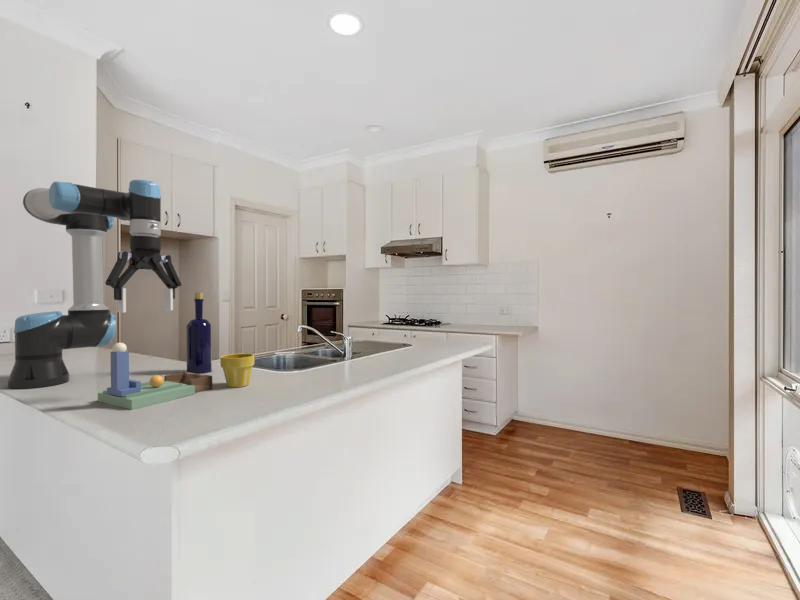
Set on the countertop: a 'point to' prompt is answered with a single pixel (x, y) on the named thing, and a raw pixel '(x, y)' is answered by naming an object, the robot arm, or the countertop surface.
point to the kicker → (121, 373)
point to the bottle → (199, 341)
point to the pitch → (148, 395)
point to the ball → (156, 381)
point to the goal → (191, 380)
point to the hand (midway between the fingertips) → (146, 311)
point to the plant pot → (237, 368)
